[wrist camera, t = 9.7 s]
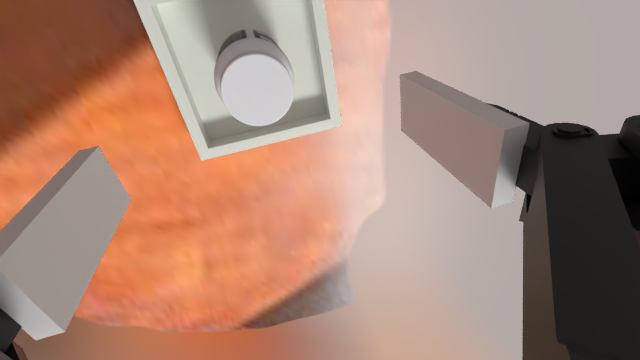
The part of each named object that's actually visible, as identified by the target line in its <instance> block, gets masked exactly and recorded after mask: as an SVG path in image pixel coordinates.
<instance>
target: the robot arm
mask: <svg viewBox="0 0 640 360" xmlns="http://www.w3.org/2000/svg"><path fill="white" fill-rule="evenodd" d="M400 93H401V94H400V95H401V130H402V131H403V132H404V133H405V134H406V135H407V136H408V137H409V138H411V139H412V140H413V141H414V142H415V143H417V145H419V146H420V147H421V148H422V149H423V150H424V151H426V152H427V153H428V154H429V155H430V156H431V157H433V158H434V159H435V160H436V161H437V162H438V163H440V164H441V165H442V166H443V167H444V168H445V169H446V170H448V171H449V172H450V173H451V174H452V175H453V176H454V177H456V178H457V179H458V180H459V181H460V182H461V183H463V184H464V185H465V186H466V187H467V188H469V189H470V190H471V191H472V192H473V193H474V194H475V195H476V196H478V197H479V198H480V199H481V200H482V201H484V202H485V203H486V204H487V205H488V206H489V207H490V208H494V207H498V206H501V205H504V204H508V203H511V202H513V199H514V195H515V190H516V186H517V187H519V188H520V189H522V190H523V191H524V192H526V194H525V198H524V203H523V207H522V212H521V215H520V220H519V221H523V224H524V225H523V360H640V115H637V116H632V117H629V118H626V120H625V121H624V124H623V126H622V129H621V131H620V134H608V135H599V134H598V133H597V132H596V131H595V130H594V129H592V128H590V127H587V126H583V125H580V124H573V123H554V124H549V125H547V126H543V125H540V124H538V123H536V122H534V121H531V120H529V119H527V118H525V117H523V116H518V115H517V114H516V113H513V112H509V110H507V109H505V108H502V107H500V106H498V105H492V104H488V103H484V102H482V101H480V100H478V99H476V98H474V97H471V96H469V95H467V94H465V93H463V92H460V91H458V90H456V89H454V88H452V87H450V86H447V85H445V84H443V83H441V82H439V81H437V80H434V79H432V78H430V77H427V76H426V75H423V74H421V73H419V72H417V71H414V72H410V73H406V74H401V75H400ZM130 201H131V198H130V197H129V195H128V193H127V192H126V190H125V188H124V187H123V185H122V184H121V182H120V180H119V179H118V177H117V176H116V174H115V172H114V171H113V169H112V167H111V166H110V164H109V163H108V161H107V159H106V158H105V156H104V154H103V153H102V151H101V150H100V148H99V146H97V147H93V148H89V149H85V150H81V151H78V152H77V153H76V154H75V155H74V156H73V158H72V159H71V160H70V161H69V162H68V163H67V164H66V165H65V166H64V167H63V168H62V169H61V170H60V171H59V172H58V173H57V174H56V175H55V176H54V177H53V178H52V179H51V180H50V181H49V182H48V183H47V184H46V185H45V186H44V187H43V188H42V189H41V190H40V191H39V192H38V193H37V194H36V195H35V196H34V197H33V198H32V199H31V200H30V201H29V202H28V203H27V204H26V205H25V206H24V208H23V209H22V210H21V211H20V212H19V213H18V214H17V215H16V216H15V217H14V218H13V219H12V220H11V221H10V222H9V223H8V224H7V225H6V226H5V227H4V228H3V229H2V230H1V231H0V360H28V359H27V357H26V355H25V353H24V351H23V349H22V348H21V347H20V346H19V345H17V344H16V343H15V342H14V341H13V339H14V338H15V337H16V335H17V334H18V332H19V330H20V329H21V328H22V329H23V330H24V331H26V332H27V333H28V334H29V335H30V336H32V337H33V338H34V339H35V340H39V339H42V338H46V337H49V336H52V335H56V334H59V333H63V332H65V330H66V328H67V326H68V324H69V322H70V320H71V318H72V317H73V315H74V313H75V311H76V309H77V307H78V305H79V303H80V301H81V299H82V297H83V295H84V293H85V291H86V289H87V287H88V285H89V283H90V281H91V279H92V277H93V275H94V273H95V271H96V269H97V267H98V265H99V263H100V261H101V259H102V257H103V255H104V253H105V251H106V249H107V247H108V245H109V243H110V241H111V239H112V237H113V235H114V233H115V231H116V229H117V227H118V225H119V223H120V221H121V219H122V217H123V215H124V213H125V211H126V209H127V207H128V205H129V203H130Z"/></svg>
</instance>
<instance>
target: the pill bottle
mask: <svg viewBox="0 0 640 360" xmlns="http://www.w3.org/2000/svg"><path fill="white" fill-rule="evenodd" d="M214 83H215V87H216V91H217V93H218V95H219V97H220V99H221V100H222V102H223V103H224V105H225V107H226V109H227V110H228V112H229V113H230V114H231V115H232V116H233V117H235V118H236V119H237V120H239V121H241V122H243V123H245V124H248V125H252V126H264V125H269V124H272V123H274V122H276V121H278V120H279V119H280V118H282V117H283V116H284V115H285V114H286V112H287V111H288V110H289V108H290V106H291V103H292V100H293V95H294V73H293V69H292V66H291V64H290V62H289V60H288V58H287V56H286V55H285V54H284V52H283V51H282V50H281V49H280V47H279V46H278V45H277V44H276V42H275V41H274V40H273V39H272V38H271V37H269V36H268V35H267V34H265V33H263V32H261V31H258V30H253V29H245V30H240V31H237V32H235V33H233V34H231V35H230V36H229V37H228V38H227V39H226V40H225V41H224V42H223V44H222V46H221V47H220V50H219V54H218V57H217V61H216V65H215V69H214Z"/></svg>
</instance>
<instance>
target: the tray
mask: <svg viewBox="0 0 640 360" xmlns="http://www.w3.org/2000/svg"><path fill="white" fill-rule="evenodd" d="M133 1H134V3H135V5H136V8H137V10H138V12H139V15H140V17H141V19H142V22H143V24H144V27H145V29H146V31H147V34H148V36H149V38H150V41H151V43H152V45H153V48H154V50H155V52H156V55H157V57H158V59H159V62H160V64H161V67H162V69H163V71H164V74H165V76H166V78H167V81H168V83H169V85H170V88H171V90H172V92H173V95H174V97H175V100H176V102H177V104H178V107H179V109H180V111H181V114H182V116H183V118H184V121H185V123H186V125H187V128H188V130H189V133H190V135H191V137H192V140H193V142H194V144H195V147H196V149H197V151H198V154H199V156H200V158H201V161H203V160H207V159H211V158H215V157H219V156H223V155H227V154H231V153H235V152H239V151H243V150H247V149H251V148H255V147H259V146H263V145H267V144H271V143H275V142H279V141H283V140H287V139H291V138H295V137H299V136H303V135H307V134H311V133H315V132H319V131H323V130H327V129H331V128H336V127H340V126H342V124H341V117H340V110H339V103H338V96H337V89H336V82H335V74H334V67H333V60H332V53H331V46H330V39H329V32H328V24H327V17H326V10H325V3H324V0H133ZM245 29H253V30H258V31H261V32H263V33H265V34H267V35H268V36H269V37H271V38H272V39H273V40H274V41H275V42H276V44H277V45H278V46H279V47H280V49H281V50H282V51H283V52H284V54H285V55H286V56H287V58H288V60H289V62H290V64H291V66H292V69H293V73H294V95H293V100H292V103H291V106H290V108H289V110H288V111H287V112H286V114H285V115H284V116H283V117H282V118H280V119H279V120H278V121H276V122H274V123H272V124H269V125H264V126H252V125H248V124H245V123H243V122H241V121H239V120H237V119H236V118H235V117H233V116H232V115H231V114H230V113H229V112H228V110H227V109H226V107H225V105H224V103H223V102H222V100H221V99H220V97H219V95H218V93H217V91H216V87H215V83H214V69H215V65H216V61H217V57H218V54H219V50H220V47H221V46H222V44H223V42H224V41H225V40H226V39H227V38H228V37H229V36H230V35H231V34H233V33H235V32H237V31H240V30H245Z"/></svg>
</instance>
